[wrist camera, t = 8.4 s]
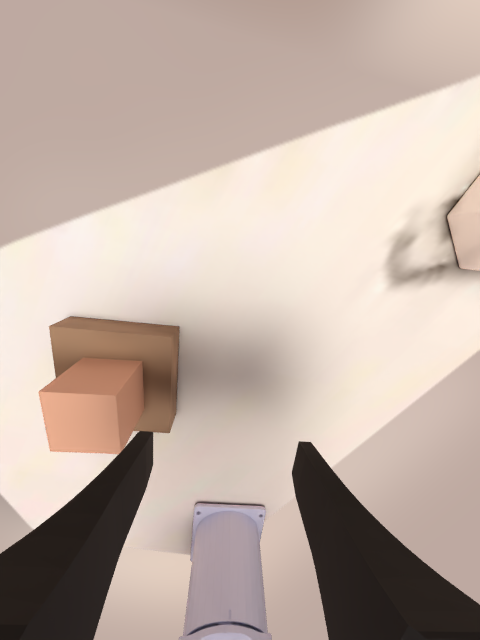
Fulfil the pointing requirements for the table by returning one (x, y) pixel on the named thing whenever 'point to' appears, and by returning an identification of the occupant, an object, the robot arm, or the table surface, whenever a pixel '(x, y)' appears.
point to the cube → (93, 406)
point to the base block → (126, 344)
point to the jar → (467, 228)
